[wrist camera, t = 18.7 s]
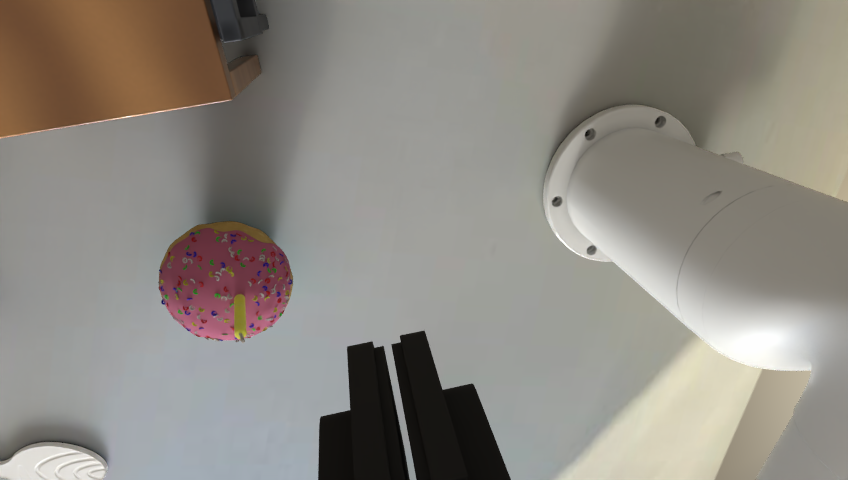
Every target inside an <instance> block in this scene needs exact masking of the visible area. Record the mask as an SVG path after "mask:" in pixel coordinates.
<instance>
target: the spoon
mask: <svg viewBox="0 0 848 480" xmlns="http://www.w3.org/2000/svg"><path fill="white" fill-rule="evenodd" d="M107 472H108V464H107V463H106V461H105V460H104V459H103V458H102V457H101V456H99V455H98V454H96V453H95V452H92V451H91V450H88V449H86V448H83V447H79V446H76V445H72V444H67V443H59V442H43V443H37V444H31V445H29V446H26V447H24V448H22V449H20V450H19V451H17V452H16V453H15V454H14V455H13V456H12V457H11V458H9V459H8V460H6V461H0V478H3V479H5V478H6V479H9V480H103V478H104V477H105V475H106V474H107Z"/></svg>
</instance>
